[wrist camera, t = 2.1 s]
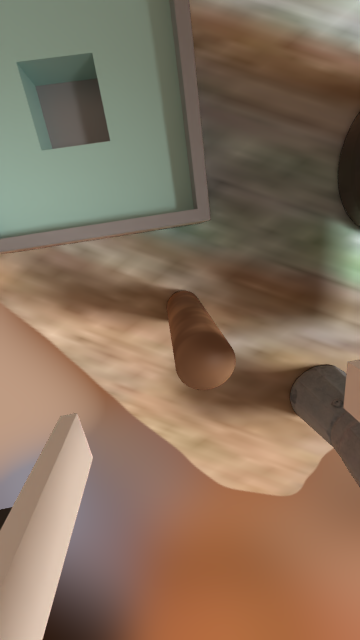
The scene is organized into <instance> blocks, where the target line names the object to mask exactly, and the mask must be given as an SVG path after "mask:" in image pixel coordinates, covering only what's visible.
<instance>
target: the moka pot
mask: <svg viewBox="0 0 360 640" xmlns="http://www.w3.org/2000/svg"><path fill="white" fill-rule="evenodd" d="M346 375H347V374H346V373H345V372H344V371H342V370H340V369H339V368H337V367H335V366H330V365H325V366H317V367H314V368H311V369H309V370H307V371H306V372H304V373H303V374H302V375H301V376H300V377H299V378H298V379H297V380H296V381H295V383H294V385H293V387H292V389H291V393H290V401H291V405H292V407H293V410H294V412H295V413H296V414H297V415H298V416H299V417H301V418H302V419H303V420H304V421H305V422H306V423H307V424H308V425H309V426H310V427H312V428H313V429H314V430H315V431H316V432H317V433H318V434H319V435H320V436H322V437H323V438H324V439H325V440H326V441H327V442H328V443H329V444H330V445H332V446H333V447H334V449H335V450H336V451H337V453H338V454H339V455H340V457H341V458H342V460H343V462H344V463H345V465H346V467H347V469H348V470H349V472H350V473H351V475H352V476H353V478H354V479H355V481H356V482H357V484H358V485H359V487H360V422H359V421H358V420H356V419H355V418H354V417H353V416H352V415H351V414H350V413H349V412H347V411H346V410H345V409H344V408H343V407H344V396H345V386H346Z"/></svg>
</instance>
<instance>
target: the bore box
mask: <svg viewBox="0 0 360 640" xmlns="http://www.w3.org/2000/svg"><path fill="white" fill-rule="evenodd" d="M208 220H211V219H210V209H209V198H208V188H207V178H206V168H205V158H204V147H203V137H202V127H201V117H200V106H199V96H198V86H197V76H196V66H195V55H194V45H193V35H192V25H191V14H190V4H189V0H0V254H4V253H14V252H20V251H26V250H33V249H39V248H46V247H52V246H59V245H65V244H71V243H78V242H84V241H91V240H97V239H104V238H110V237H117V236H123V235H129V234H136V233H142V232H149V231H155V230H162V229H168V228H175V227H181V226H187V225H194V224H200V223H202V222H205V221H208Z"/></svg>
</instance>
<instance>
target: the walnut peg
mask: <svg viewBox="0 0 360 640" xmlns="http://www.w3.org/2000/svg"><path fill="white" fill-rule="evenodd" d="M167 313H168V320H169V326H170V333H171V339H172V346H173V353H174V359H175V366H176V371H177V374H178V376H179V378H180V379H181V381H182V382H183V383H185V384H186V385H187V386H189V387H191V388H194V389H198V390H208V389H213V388H215V387H218V386H220V385H221V384H223V383H224V382H225V381H227V380H228V378H229V377H230V376H231V374H232V373H233V371H234V368H235V363H236V358H235V353H234V351H233V349H232V347H231V346H230V344H229V343H228V341H227V340H226V339H225V337H224V336H223V334H222V333H221V331H220V330H219V328H218V327H217V326H216V324H215V323H214V321H213V320H212V318H211V317H210V315H209V314H208V313H207V311H206V310H205V308H204V307H203V305H202V304H201V302H200V301H199V300H198V298H197V297H196V296H195V295H194V294H193V293H191V292H189V291H179V292H176V293H174V294H173V295H172V296H171V297H170V298H169V300H168V303H167Z"/></svg>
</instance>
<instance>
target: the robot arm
mask: <svg viewBox="0 0 360 640" xmlns="http://www.w3.org/2000/svg"><path fill="white" fill-rule="evenodd" d="M338 184H339V192H340V196H341V200H342V203H343V206H344V208H345V210H346V212H347V214H348V215H349V217H350V218H351V219H352V220H353V221H354V223H355V224H357V225H358V226H359V227H360V113H359V114H358V116H357V117H356V119H355V121H354V122H353V124H352V126H351V128H350V130H349V132H348V134H347V137H346V139H345V142H344V145H343V148H342V152H341V156H340V162H339V170H338ZM343 408H344V409H345V410H346V411H347V412H349V413H350V414H351V415H352V416H353V417H354V418H355V419H356V420H358V421H359V422H360V360H355V361H350V362H348V364H347V375H346V386H345V396H344V407H343ZM92 459H93V456H92V454H91V451H90V448H89V445H88V442H87V440H86V437H85V434H84V431H83V429H82V425H81V423H80V420H79V417H78V414H77V413H74V414H70V415H64V416H60V418H59V420H58V422H57V424H56V425H55V427H54V429H53V431H52V433H51V435H50V437H49V439H48V441H47V443H46V444H45V447H44V448H43V450H42V452H41V454H40V456H39V458H38V460H37V462H36V464H35V465H34V467H33V469H32V471H31V473H30V475H29V477H28V479H27V481H26V482H25V484H24V486H23V488H22V490H21V492H20V494H19V496H18V498H17V500H16V501H15V503H14V506H13V507H11V508H6V509H1V510H0V640H42V639H43V635H44V632H45V628H46V625H47V621H48V617H49V614H50V610H51V606H52V603H53V599H54V596H55V592H56V589H57V585H58V581H59V578H60V574H61V571H62V567H63V563H64V560H65V556H66V553H67V549H68V545H69V541H70V538H71V535H72V531H73V527H74V524H75V520H76V516H77V513H78V510H79V506H80V502H81V499H82V495H83V491H84V488H85V484H86V480H87V477H88V474H89V470H90V466H91V463H92Z"/></svg>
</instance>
